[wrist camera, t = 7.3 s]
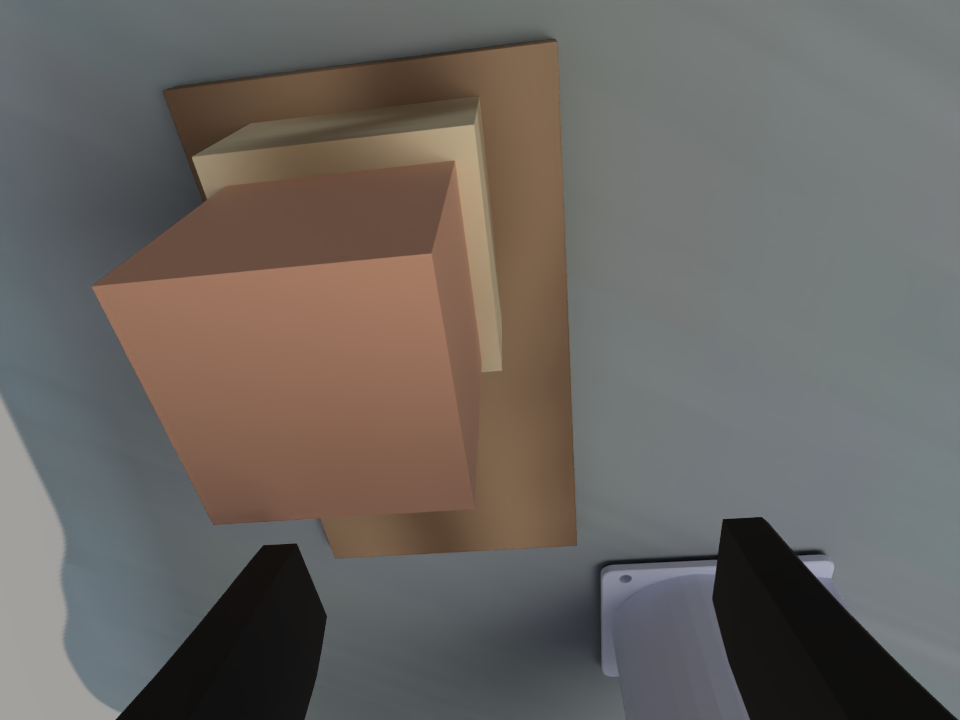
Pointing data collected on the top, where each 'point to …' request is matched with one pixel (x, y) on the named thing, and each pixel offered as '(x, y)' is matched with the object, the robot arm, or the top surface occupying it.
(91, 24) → the top surface
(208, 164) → the birch block
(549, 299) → the base plate
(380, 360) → the terracotta block
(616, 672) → the robot arm
